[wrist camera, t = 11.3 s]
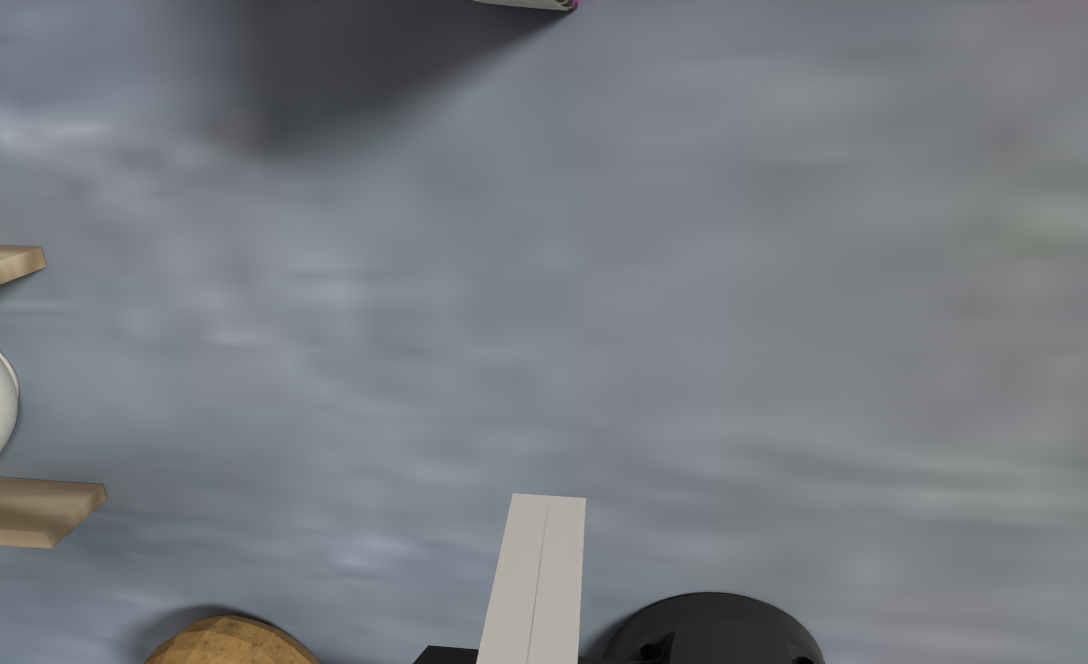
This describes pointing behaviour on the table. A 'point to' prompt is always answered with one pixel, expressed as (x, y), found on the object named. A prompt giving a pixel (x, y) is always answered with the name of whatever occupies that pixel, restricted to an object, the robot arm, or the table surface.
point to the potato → (231, 644)
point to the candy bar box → (537, 4)
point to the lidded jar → (7, 400)
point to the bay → (39, 505)
